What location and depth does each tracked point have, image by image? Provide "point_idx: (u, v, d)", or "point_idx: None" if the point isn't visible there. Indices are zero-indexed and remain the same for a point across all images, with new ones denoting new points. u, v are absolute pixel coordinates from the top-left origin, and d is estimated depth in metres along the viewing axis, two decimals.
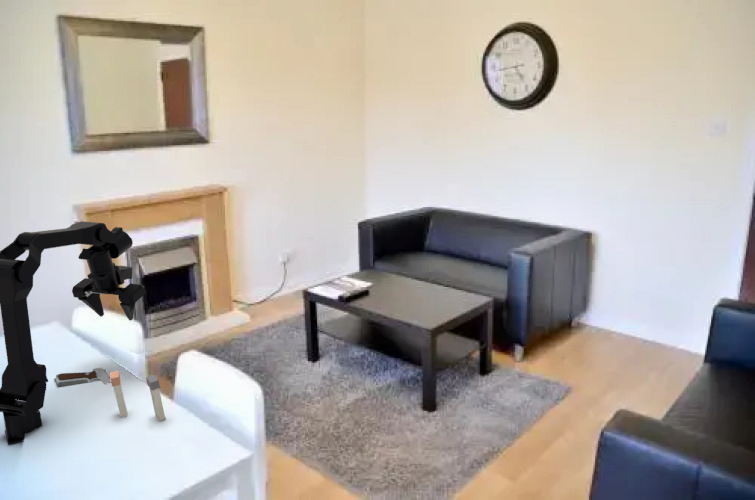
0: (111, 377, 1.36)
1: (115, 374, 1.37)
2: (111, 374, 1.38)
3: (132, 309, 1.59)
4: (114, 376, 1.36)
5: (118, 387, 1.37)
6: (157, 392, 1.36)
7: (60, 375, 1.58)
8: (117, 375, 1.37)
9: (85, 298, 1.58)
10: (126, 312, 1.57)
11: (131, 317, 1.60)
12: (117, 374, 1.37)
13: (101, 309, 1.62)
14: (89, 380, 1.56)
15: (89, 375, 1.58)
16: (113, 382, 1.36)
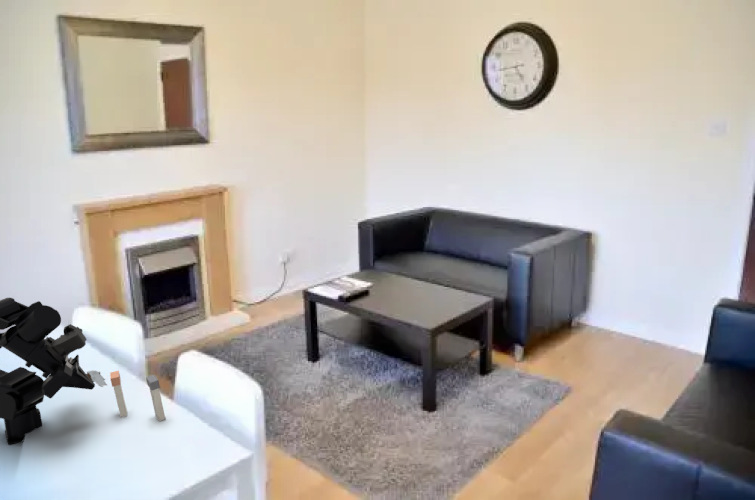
0: (111, 377, 1.36)
1: (115, 374, 1.37)
2: (111, 374, 1.38)
3: (81, 381, 1.33)
4: (114, 376, 1.36)
5: (118, 387, 1.37)
6: (157, 392, 1.36)
7: None
8: (117, 375, 1.37)
9: None
10: None
11: (89, 387, 1.34)
12: (117, 374, 1.37)
13: None
14: None
15: None
16: (113, 382, 1.36)
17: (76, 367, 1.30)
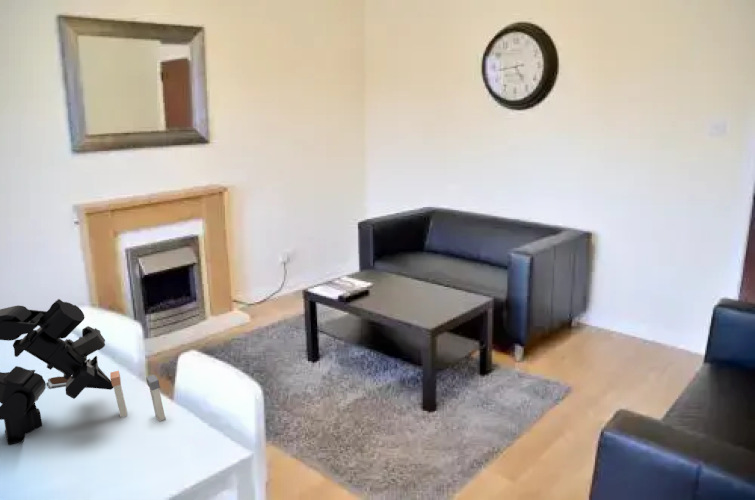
0: (111, 377, 1.36)
1: (115, 374, 1.38)
2: (111, 374, 1.38)
3: (101, 381, 1.35)
4: (114, 376, 1.36)
5: (118, 387, 1.37)
6: (157, 392, 1.36)
7: (52, 379, 1.56)
8: (117, 375, 1.37)
9: None
10: None
11: (109, 387, 1.37)
12: (117, 374, 1.37)
13: None
14: None
15: None
16: (113, 382, 1.36)
17: (96, 368, 1.33)
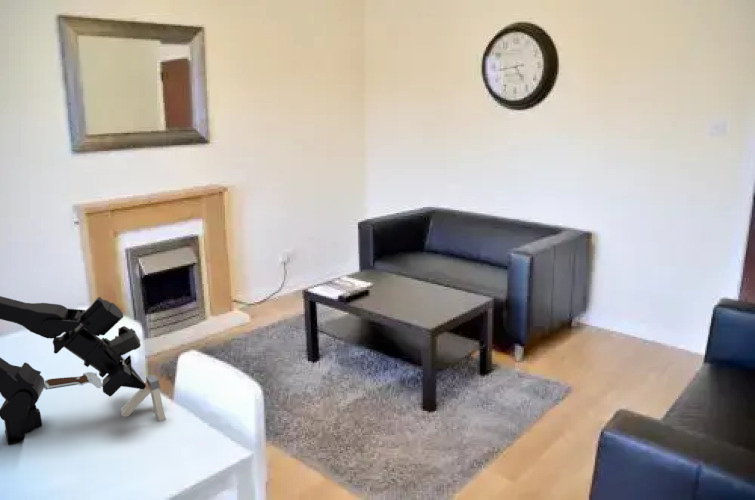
0: None
1: None
2: None
3: (134, 381, 1.38)
4: None
5: (148, 392, 1.40)
6: (157, 392, 1.36)
7: (49, 380, 1.55)
8: None
9: None
10: None
11: (141, 386, 1.40)
12: None
13: None
14: (81, 384, 1.54)
15: (80, 379, 1.56)
16: None
17: (131, 367, 1.36)
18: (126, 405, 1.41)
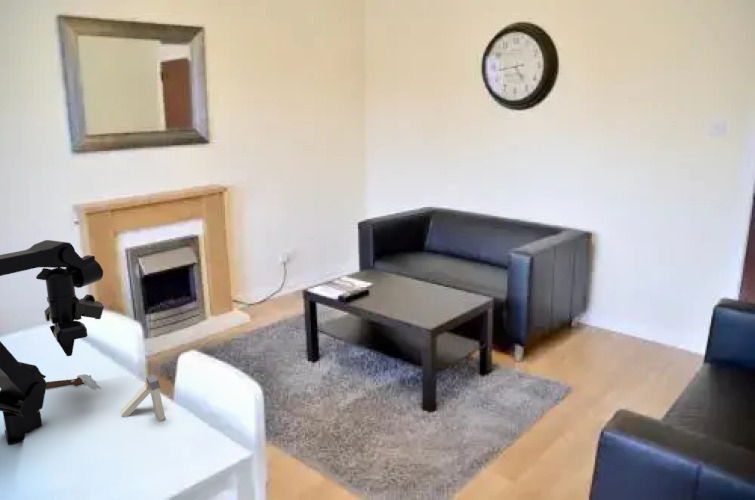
0: None
1: None
2: None
3: (69, 344, 1.42)
4: None
5: (148, 392, 1.40)
6: (157, 392, 1.36)
7: None
8: None
9: (53, 328, 1.42)
10: (59, 344, 1.41)
11: (68, 353, 1.43)
12: None
13: None
14: (76, 387, 1.52)
15: (75, 382, 1.54)
16: None
17: None
18: (126, 405, 1.41)
